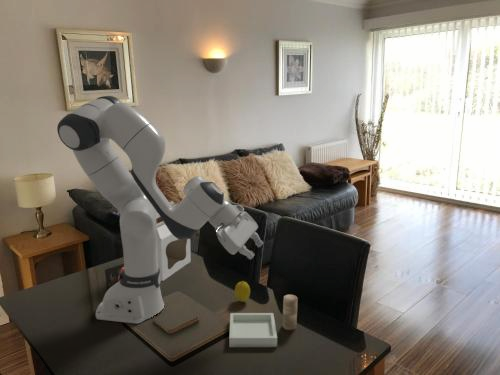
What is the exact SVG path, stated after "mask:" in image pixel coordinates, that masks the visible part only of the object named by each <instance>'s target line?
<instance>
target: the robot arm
mask: <svg viewBox="0 0 500 375" xmlns="http://www.w3.org/2000/svg"><path fill="white" fill-rule="evenodd" d="M56 129H57V134H58V138H59V140H60V141H61V143H63V144H64V145H65V146H66V147H67V148H68V149H70V150H72V152H73V154H74V157H75V158H76V161H77V162H78V164H79V166H80V168H81V169H82V171H84V173H85V175H86V176H87V177H88V178H89V180H90V181H91V183H92V184H93V185H94V187H95V188H96V190H97V191H98V192H99V193H100V195H101V196H102V197H103V198H104V199H106V200H107V201H108V202H109V203H110V204H111V205H112V206H113V207H114V208H115V209H116V210H117V211H118V212H119V214H120V217H119V228H120V237H121V243H122V251H123V253H122V254H123V266H122V267H121V269H120V271H119V273H118V277H117V281H118V282H116V283H115V284H113V285H112V286H111V287H109V288H108V289H107V291H105V293H104V296H103V299H102V302H100V303H99V304H98V306H97V308H96V310H95V318H96V320H99V321H100V320H101V321H109V322H110V321H111V322H116V323H117V322H120V323H128V324H137V325H138V324H140V323H143V322H145V321H146V320H148V319H152V318H154V317H155V316H154V315H156V314H157V313H159V312H160V311H161V310H162V309H163V308H164V305H165V302H164V300H163V297H162V296H163V295H162V292H161V282H162V281H161V278H160V269H159V267H158V246H157V226H156V224H157V218H156V211H157V212H158V214H159V215H160V217H159V218H161V219H162V221H164V223H165V225H166V226H167V228H168V230H169V231H170V232H171V234H172V235H173V236H175V237H176V238H177V239H190V240H191V239H193V238H194V237H195V236H196V234H197V233H198V232H199V231H200V229H201V228H203V226H204V225H205V224H206V223H207V222H208V223H209V224H210V225H211V226H212V227H213V228H214V230H215V234H216V236H217V239H218V241H219V242H220V244H221V245H222V247H223V248H224V249H225V250H226V251H227V253H229V254H231V255H236V254H237V253H238V252H239V254H241V255H243V256H246V258H247V259H248V260H252V259H254V256H255V255H256V254H255V253H254V251H253V250H249V249H248V248H247V246H246V245H245V244H246V243H247V241H248V240H249V239H252V240H253V242H254V243H255V244H254V245H255V246H257V248H261V247H262V246H263V244H264V242H263V240H261V238H260V236H259V234H258V233H257V232H256V231H257V230H258V228H259V226H258V224H257V222H256V221H255V220H254V218H253V217H252V216H251V215H250V214H249V213H248V212H247V211H245V208H244V206H242V205H241V204H236V205H235V204H232V203H231V202H230V201H229V200H227V199H225V198H224V197H225V193H224V192H223V191H222V190H221V189H220V187H218V185H216V184H215V182H213V181H208V180H207V179H205V178H204V177H203V176H201V175H196V176H193V177H192V178H191V179H190V180H189V181H187V182H186V183H185V185H184V186H183V189H182V191H183V194H184V197H183V198H182V200H180V202H179V203H176V206H174V207H173V206H171V204H170V203H169V202H170V201H169V200H168V199H167V198H166V196H165V194H164V193H163V192H162V191H161V189H160V188H159V187H158V185H157V180H156V179H157V178H156V177H157V172H158V169H159V167H160V165H161V162H162V160H163V158H164V155H165V151H166V141H165V138H164V136H163V134H162V133H161V131H159V129H157V127H156V126H155V125H154V124H153V123H152V122H151V121H150V120H149V119H148V118H147V117H145V116H144V115H143V114H141V113H140V112H139V111H138V110H137V109H135V108H134V107H133V106H131V105H130V104H128V103H126V102H122V101H121V100H120V99H119V98H117V97H116V96H113V95H103V96H100V97H97V98H96V99H94V100H90V101H89V102H87V103H84V104H82V105H81V106H79V107H78V108H77V109H75V110H73V111H72V112H71V113H68V114H66V115H65V116H64V117H63V118H61V120H60V121H59V122H58V124H57V128H56ZM110 140H111V141H113V142H114V143H116V145H117V146H118V147H119V148H120V149H121V150H122V151H123V152H124V153H125V155H127V156H128V158H129V160H130V163H131V172H130V171H129V169H128V168H127V166H126V165H125V164H124V162H123V161H122V160H121V157H119V155H118V154H117V153H116V151H115V150H114V148H112V146H111V144H110ZM164 309H165V308H164ZM153 316H154V317H153ZM151 317H152V318H151Z"/></svg>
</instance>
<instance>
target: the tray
mask: <svg viewBox="0 0 500 375" xmlns="http://www.w3.org/2000/svg"><path fill="white" fill-rule="evenodd" d="M274 315H275V314H274V313H273V312H268V313H267V312H230V317H229V337H228V338H229V339H228V340H229V341H228V342H229V344H228V345H229V348H277V347H278V334H277V328H276V322H275V316H274Z"/></svg>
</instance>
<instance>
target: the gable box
mask: <svg viewBox="0 0 500 375" xmlns="http://www.w3.org/2000/svg"><path fill="white" fill-rule="evenodd" d="M168 202H169V203H170V204H171V206H173V207H174V206H176V205H177V203H174V201H173V200H170V201H168ZM159 218H161V217H160V215H159V214H158V212H157V211H156V219H159ZM156 226H157V246H158V267H159V269H160V278H161V282H164V281H165V280H167V279H168V278H169V277H171V276H172V275H174V274H175V273H176V272H179V270H181V269H182V268H184V267H185V266H186V265H188V264H190V263H191V261H192V260H191V259H192V258H191V257H192V256H191V239H177V238H176V237H175V236H173V235H172V234H171V232H170V231H169V230H168V228H167V226H166V225H165V223H164V221H163V220H162V221H160V222H157V223H156Z"/></svg>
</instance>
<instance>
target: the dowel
mask: <svg viewBox="0 0 500 375" xmlns="http://www.w3.org/2000/svg"><path fill="white" fill-rule="evenodd" d="M298 300H299V298H298V297H297V296H296V295H294V294H286V295H284V296H283V302H282V303H283V304H282V305H283V306H282V328H283V329H284V330H286V331H294V330H296V329H297V326H298V325H297V324H298V323H297V321H298V320H297V319H298V318H297V317H298Z"/></svg>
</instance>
